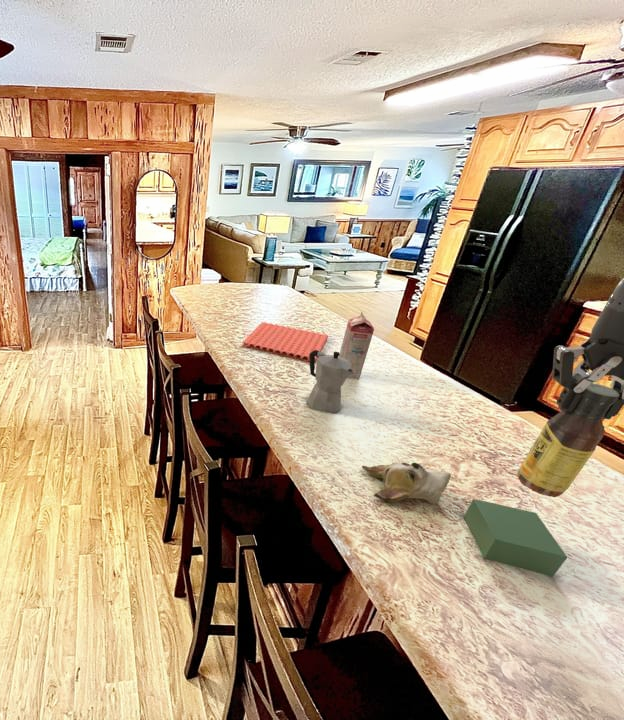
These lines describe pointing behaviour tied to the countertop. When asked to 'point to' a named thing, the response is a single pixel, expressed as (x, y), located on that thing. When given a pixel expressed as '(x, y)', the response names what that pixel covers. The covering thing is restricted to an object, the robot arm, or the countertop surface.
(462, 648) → the countertop surface
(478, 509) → the green block
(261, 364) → the countertop surface
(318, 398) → the coffeepot
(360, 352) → the juice carton
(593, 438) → the sauce bottle
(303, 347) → the red corrugated roof tile
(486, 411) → the countertop surface
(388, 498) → the ceramic sculpture
